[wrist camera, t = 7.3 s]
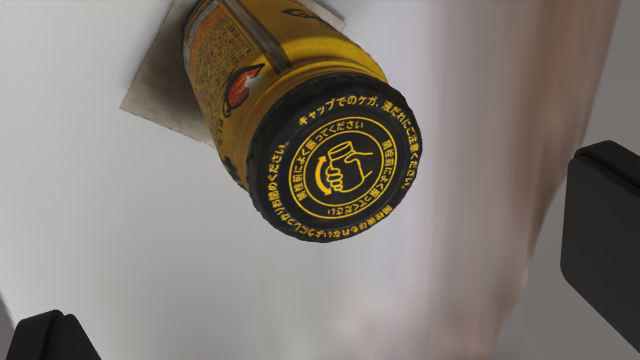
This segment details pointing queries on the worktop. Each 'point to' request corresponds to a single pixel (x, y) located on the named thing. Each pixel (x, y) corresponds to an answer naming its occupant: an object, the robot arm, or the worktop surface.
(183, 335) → the worktop surface
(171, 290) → the worktop surface
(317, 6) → the condiment
